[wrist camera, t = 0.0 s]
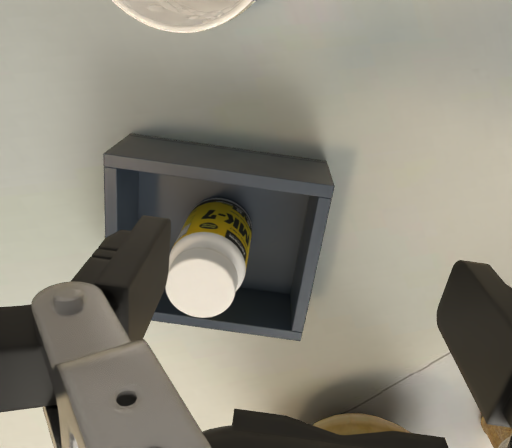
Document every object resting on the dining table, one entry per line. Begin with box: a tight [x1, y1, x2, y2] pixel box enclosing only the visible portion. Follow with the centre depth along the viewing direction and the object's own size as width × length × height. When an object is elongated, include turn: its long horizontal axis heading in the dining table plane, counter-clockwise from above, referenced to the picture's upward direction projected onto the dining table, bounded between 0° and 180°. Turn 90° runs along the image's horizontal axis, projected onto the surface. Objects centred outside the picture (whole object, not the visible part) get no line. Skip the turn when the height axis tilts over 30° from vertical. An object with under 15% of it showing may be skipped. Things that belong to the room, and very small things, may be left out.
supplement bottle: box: [165, 198, 252, 318], centre depth 28 cm, size 5×5×8 cm
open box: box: [104, 134, 334, 341], centre depth 30 cm, size 12×14×5 cm
